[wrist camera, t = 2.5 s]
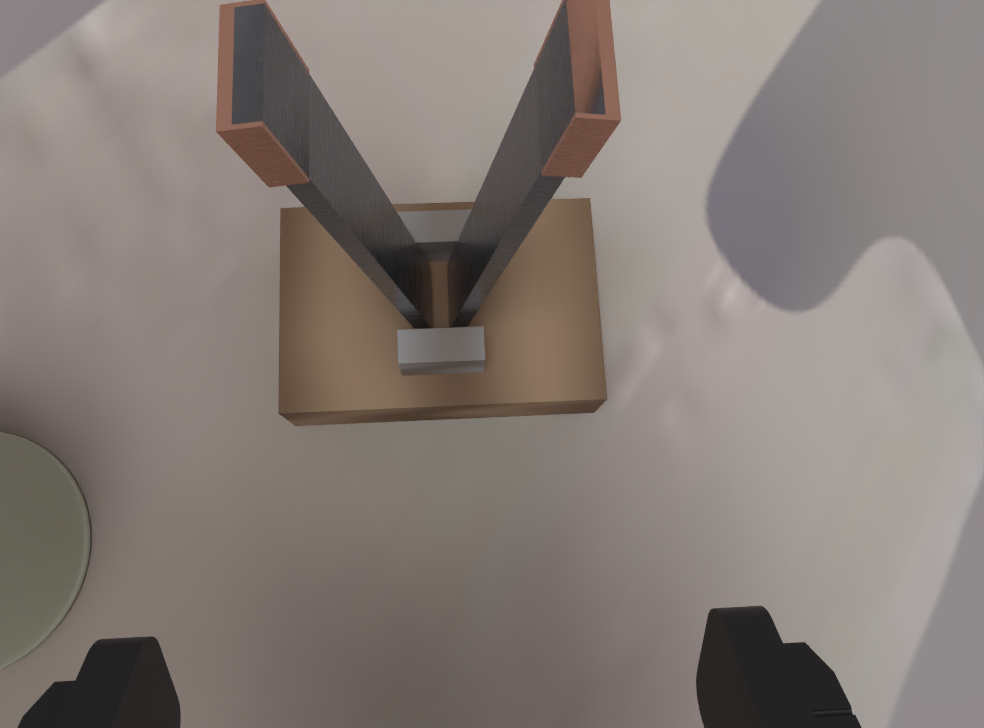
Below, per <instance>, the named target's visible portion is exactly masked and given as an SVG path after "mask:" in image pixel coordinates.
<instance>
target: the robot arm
mask: <svg viewBox="0 0 984 728" xmlns="http://www.w3.org/2000/svg"><path fill="white" fill-rule="evenodd" d="M696 687H697V698H698V704H699V710H700V714H701V718H702V721H703V724H704V727H705V728H861V726H860V724H859V722H858V720H857V718H856V716H855V715H853V714H852V710H851V709H852V708H851V705H850V703H849V701H848V699H847V697H846V695H845V693H844V691H843V689H842V687H841V685H840V683H839V681H838V679H837V677H836V675H835V673H834V672H833V671H832V670H831V669H830V668H829V667H828V666H827V664H826V663H825V662H824V661H823V660H822V659H821V658H820V657H819V656H818V655H817V654H816V653H815V652H814V651H813V650H812V649H811V648H810V647H809V646H808V645H807V644H806V643H805V642H801V643H784V644H783V642H782V640H781V638H780V636H779V633H778V631H777V629H776V627H775V625H774V622H773V620H772V618H771V616H770V614H769V612H768V611H767V610H766V609H765V608H764V607H763V606H750V607H732V608H713V609H711V610H710V612H709V614H708V618H707V624H706V629H705V634H704V639H703V644H702V649H701V654H700V659H699V664H698V669H697V677H696ZM18 728H180V705H179V700H178V697H177V694H176V691H175V688H174V685H173V682H172V679H171V677H170V674H169V671H168V668H167V665H166V662H165V659H164V657H163V654H162V651H161V648H160V645H159V643H158V641H157V639H156V638H155V637H133V638H115V639H100V640H98V641H96V642H95V643H94V644H93V645H92V647H91V648H90V650H89V652H88V654H87V656H86V658H85V660H84V663H83V665H82V667H81V669H80V672H79V674H78V676H77V678H76V681H63V682H54V683H53V684H52V685H51V687H50V688H49V689H48V690H47V691H46V692H45V693H44V694H43V695H42V696H41V697H40V699H39V700H38V701H37V702H36V703H35V704H34V705H33V706H32V707H31V708H30V709H29V711H28V712H27V713H26V714H25V715H24V716H23V717H22V720H21V722H20V724H19V726H18Z"/></svg>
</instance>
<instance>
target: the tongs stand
mask: <svg viewBox="0 0 984 728" xmlns="http://www.w3.org/2000/svg"><path fill="white" fill-rule="evenodd" d="M474 203H475V202H457V203H426V204H394V205H393V207H394V208H395V210H396V212H397V213H398V215H399V216H400V218H401V219H402V221H403V223H404V224H405V226H406V227H407V229H408V231H409V232H410V234H411V235H412V237H413V238H414V240H415V242H416V243H417V245H418V246H419V248H420V249H421V251H422V253H423V254H424V256H425V257H426V259H427V260H428V262H429V264H430V265H431V289H432V317H433V328H431V329H414V327H413V326H412V325H411V324H410V323H409V322H408V321H407V320H406V319H405V317H404V316H403V315H402V314H401V313H400V312H399V311H398V310H397V309H396V307H395V306H394V305H393V304H392V303H391V302H390V301H389V300H388V299H387V297H386V296H385V295H384V294H383V293H382V292H381V291H380V290H379V289H378V287H377V286H376V285H375V284H374V283H373V282H372V281H371V280H370V279H369V277H368V276H367V275H366V274H365V273H364V272H363V271H362V270H361V268H360V267H359V266H358V265H357V264H356V263H355V262H354V261H353V260H352V258H351V257H350V256H349V255H348V254H347V253H346V252H345V251H344V250H343V248H342V247H341V246H340V245H339V244H338V243H337V242H336V241H335V240H334V238H333V237H332V236H331V235H330V234H329V233H328V232H327V231H326V230H325V228H324V227H323V226H322V225H321V224H320V223H319V222H318V221H317V220H316V218H315V217H314V216H313V215H312V214H311V213H310V212H309V211H308V209H307V208H306V207H300V208H281V220H280V325H279V414H280V415H282V416H283V417H284V418H286V419H287V420H288V421H290V422H291V423H292V424H294V425H295V426H303V425H325V424H348V423H370V422H393V421H415V420H438V419H460V418H483V417H505V416H528V415H550V414H573V413H594V412H595V411H596V410H597V409H598V408H599V407H600V406H601V405H602V404H603V403H604V402H605V401H606V400H607V393H606V381H605V369H604V357H603V345H602V333H601V322H600V310H599V298H598V286H597V274H596V262H595V251H594V239H593V227H592V215H591V203H590V198H582V199H551V200H550V201H549V202H548V204H547V206H546V207H545V209H544V210H543V212H542V213H541V215H540V216H539V218H538V219H537V221H536V222H535V224H534V225H533V227H532V229H531V230H530V232H529V233H528V235H527V236H526V238H525V239H524V241H523V242H522V244H521V245H520V247H519V248H518V250H517V252H516V253H515V255H514V256H513V258H512V259H511V261H510V262H509V264H508V265H507V267H506V268H505V270H504V271H503V273H502V275H501V276H500V278H499V279H498V281H497V282H496V284H495V285H494V287H493V288H492V290H491V291H490V293H489V294H488V296H487V297H486V299H485V301H484V302H483V304H482V305H481V307H480V308H479V310H478V311H477V313H476V314H475V316H474V317H473V319H472V320H471V322H470V324H469V325H468V327H457V328H450V327H449V302H448V277H447V264H448V262H449V259H450V257H451V255H452V253H453V250H454V248H455V246H456V243H457V241H458V239H459V237H460V234H461V232H462V230H463V228H464V225H465V223H466V221H467V219H468V216H469V214H470V212H471V210H472V207H473V205H474Z"/></svg>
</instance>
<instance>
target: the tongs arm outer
mask: <svg viewBox="0 0 984 728" xmlns="http://www.w3.org/2000/svg"><path fill="white" fill-rule="evenodd" d="M620 121H621V115H620V104H619V94H618V84H617V73H616V63H615V52H614V42H613V32H612V21H611V11H610V0H562V2H561V4H560V7H559V9H558V11H557V13H556V16H555V18H554V20H553V22H552V25H551V27H550V29H549V31H548V34H547V36H546V38H545V41H544V43H543V45H542V47H541V50H540V52H539V54H538V56H537V59H536V61H535V63H534V70H533V72H532V75H531V77H530V79H529V81H528V84H527V86H526V88H525V90H524V93H523V95H522V97H521V99H520V102H519V104H518V106H517V108H516V111H515V113H514V115H513V117H512V120H511V122H510V124H509V126H508V129H507V131H506V133H505V135H504V138H503V140H502V142H501V144H500V147H499V149H498V151H497V153H496V156H495V158H494V160H493V162H492V165H491V167H490V169H489V171H488V174H487V176H486V178H485V180H484V183H483V185H482V187H481V189H480V192H479V194H478V196H477V198H476V201H475V203H474V205H473V207H472V210H471V212H470V214H469V216H468V219H467V221H466V223H465V225H464V228H463V230H462V232H461V234H460V237H459V239H458V241H457V243H456V246H455V248H454V250H453V253H452V255H451V257H450V259H449V262H448V264H447V277H448V302H449V327H450V328H457V327H468V325H469V324H470V322H471V320H472V319H473V317H474V316H475V314H476V313H477V311H478V310H479V308H480V307H481V305H482V304H483V302H484V301H485V299H486V297H487V296H488V294H489V293H490V291H491V290H492V288H493V287H494V285H495V284H496V282H497V281H498V279H499V278H500V276H501V275H502V273H503V271H504V270H505V268H506V267H507V265H508V264H509V262H510V261H511V259H512V258H513V256H514V255H515V253H516V252H517V250H518V248H519V247H520V245H521V244H522V242H523V241H524V239H525V238H526V236H527V235H528V233H529V232H530V230H531V229H532V227H533V225H534V224H535V222H536V221H537V219H538V218H539V216H540V215H541V213H542V212H543V210H544V209H545V207H546V206H547V204H548V202H549V201H550V199H551V198H552V196H553V195H554V193H555V192H556V190H557V189H558V187H559V186H560V184H561V183H562V181H563V179H564V178H565V177H578V178H581V177H582V176H583V175H584V173H585V172H586V170H587V169H588V167H589V166H590V164H591V163H592V162H593V160H594V159H595V157H596V156H597V154H598V153H599V152H600V150H601V149H602V147H603V146H604V144H605V143H606V142H607V140H608V139H609V137H610V136H611V134H612V133H613V131H614V130H615V129H616V127H617V126H618V124H619V123H620Z"/></svg>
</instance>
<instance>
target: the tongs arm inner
mask: <svg viewBox="0 0 984 728" xmlns="http://www.w3.org/2000/svg"><path fill="white" fill-rule="evenodd" d="M216 132H217V133H218V134H219V135H220V136H221V137H222V138H223V139H224V141H225V142H226V143H227V144H228V145H229V146H230V147H231V148H232V149H233V150H234V151H235V152H236V153H237V154H238V155H239V156H240V157H241V158H242V159H243V161H244V162H245V163H246V164H247V165H248V166H249V167H250V168H251V169H252V170H253V171H254V172H255V173H256V174H257V175H258V176H259V177H260V178H261V179H262V181H263V182H264V183H265V184H266V185H267V186H268V187H276V186H285V185H286V186H287V187H288V188H289V189H290V191H291V192H292V193H293V194H294V195H295V196H296V197H297V198H298V199H299V201H300V202H301V203H302V204H303V205H304V206H305V207H306V208H307V209H308V211H309V212H310V213H311V214H312V215H313V216H314V217H315V218H316V220H317V221H318V222H319V223H320V224H321V225H322V226H323V227H324V228H325V230H326V231H327V232H328V233H329V234H330V235H331V236H332V237H333V238H334V240H335V241H336V242H337V243H338V244H339V245H340V246H341V247H342V248H343V250H344V251H345V252H346V253H347V254H348V255H349V256H350V257H351V258H352V260H353V261H354V262H355V263H356V264H357V265H358V266H359V267H360V268H361V270H362V271H363V272H364V273H365V274H366V275H367V276H368V277H369V279H370V280H371V281H372V282H373V283H374V284H375V285H376V286H377V287H378V289H379V290H380V291H381V292H382V293H383V294H384V295H385V296H386V297H387V299H388V300H389V301H390V302H391V303H392V304H393V305H394V306H395V307H396V309H397V310H398V311H399V312H400V313H401V314H402V315H403V316H404V317H405V319H406V320H407V321H408V322H409V323H410V324H411V325H412V326H413V327H414V329H431V328H433V317H432V289H431V265H430V264H429V262H428V260H427V259H426V257H425V256H424V254H423V253H422V251H421V249H420V248H419V246H418V245H417V243H416V242H415V240H414V238H413V237H412V235H411V234H410V232H409V231H408V229H407V227H406V226H405V224H404V223H403V221H402V219H401V218H400V216H399V215H398V213H397V212H396V210H395V208H394V207H393V205H392V204H391V202H390V201H389V199H388V197H387V196H386V194H385V193H384V191H383V190H382V188H381V186H380V185H379V183H378V182H377V180H376V179H375V177H374V175H373V174H372V172H371V171H370V169H369V167H368V166H367V164H366V163H365V161H364V160H363V158H362V156H361V155H360V153H359V152H358V150H357V149H356V147H355V145H354V144H353V142H352V141H351V139H350V138H349V136H348V134H347V133H346V131H345V130H344V128H343V126H342V125H341V123H340V122H339V120H338V119H337V117H336V115H335V114H334V112H333V111H332V109H331V108H330V106H329V104H328V103H327V101H326V100H325V98H324V97H323V95H322V93H321V92H320V90H319V89H318V87H317V86H316V84H315V82H314V81H313V79H312V78H311V76H310V74H309V69H308V67H307V66H306V64H305V62H304V61H303V59H302V58H301V56H300V55H299V53H298V51H297V50H296V48H295V47H294V45H293V43H292V42H291V40H290V39H289V37H288V35H287V34H286V32H285V31H284V29H283V28H282V26H281V24H280V23H279V21H278V20H277V18H276V16H275V15H274V13H273V12H272V10H271V8H270V7H269V5H268V4H267V2H266V0H251V1H244V2H237V3H230V4H223V5H220V18H219V52H218V85H217V119H216Z"/></svg>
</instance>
